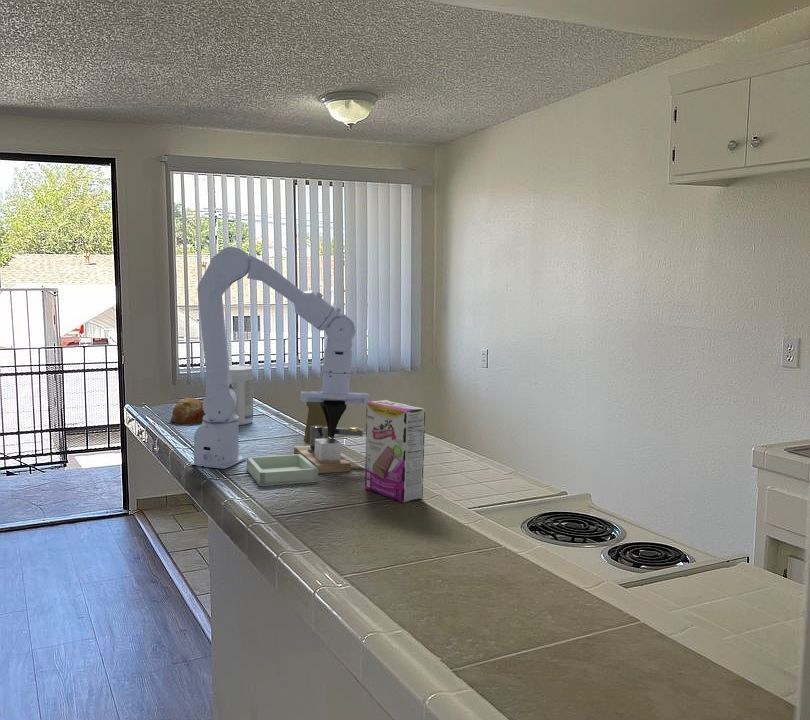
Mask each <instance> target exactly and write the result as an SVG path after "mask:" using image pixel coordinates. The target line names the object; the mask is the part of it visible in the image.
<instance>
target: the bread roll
mask: <svg viewBox="0 0 810 720" xmlns="http://www.w3.org/2000/svg"><path fill="white" fill-rule="evenodd" d="M203 401H204V400H203ZM203 401H202V400H200V399H198V398H194V397H185V398H183V399H181V400H179V401H178V402H176V403H175V404H174V407H173V408H172V413H171V414H172V415H171V418H170V421H171V422H173V423H175V424H178V423H180V425H193V424H194V425H196V424H202V422H203V416H204V415H206V414H205V413H204V410H203ZM195 423H196V424H195Z"/></svg>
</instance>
